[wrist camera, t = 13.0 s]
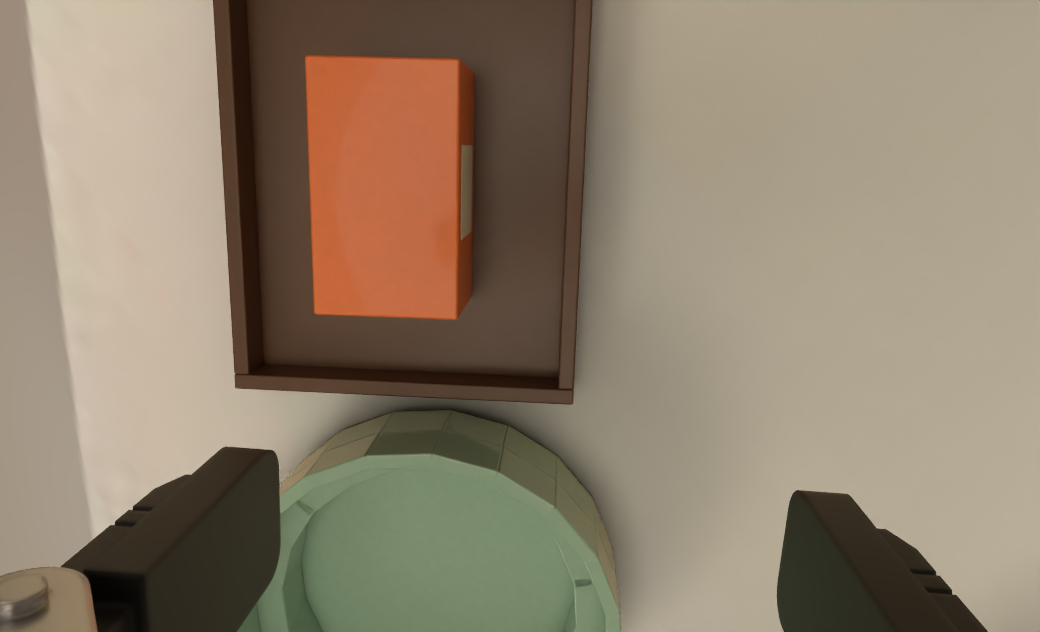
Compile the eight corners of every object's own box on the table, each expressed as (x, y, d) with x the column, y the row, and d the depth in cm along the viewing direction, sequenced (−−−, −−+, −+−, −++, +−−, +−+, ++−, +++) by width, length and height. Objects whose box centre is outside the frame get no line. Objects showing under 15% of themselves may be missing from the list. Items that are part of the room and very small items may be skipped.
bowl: (377, 338, 30) (341, 374, 25) (682, 529, 31) (704, 599, 26) (211, 607, 33) (151, 685, 28) (492, 773, 34) (480, 875, 30)
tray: (234, -47, 27) (208, -63, 25) (593, -41, 26) (595, -56, 25) (255, 373, 31) (234, 388, 29) (572, 388, 30) (572, 405, 28)
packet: (340, 68, 27) (303, 54, 23) (475, 71, 27) (460, 57, 23) (346, 293, 29) (312, 315, 25) (472, 297, 29) (458, 320, 25)
